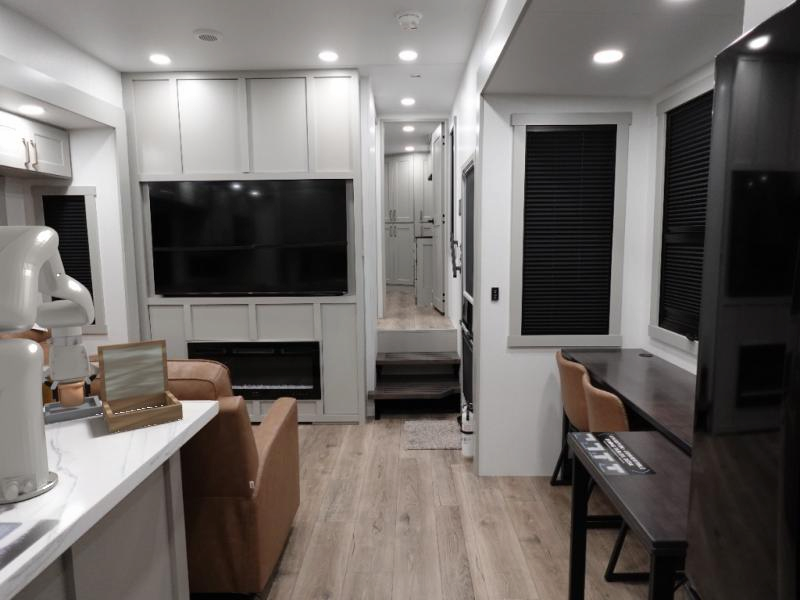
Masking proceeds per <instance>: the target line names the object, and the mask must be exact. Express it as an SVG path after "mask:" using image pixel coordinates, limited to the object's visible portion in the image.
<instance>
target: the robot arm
mask: <svg viewBox="0 0 800 600" xmlns="http://www.w3.org/2000/svg"><path fill="white" fill-rule="evenodd" d="M59 240H60V239H59V234H58V231H56V230H55V229H54V228H52V227H50V226H47V225H0V335H9V334H10V335H11V334H19V333H25V332H29V331H30V330H31V329H32V328H34V326H35V324H36V325H37V326H38V327H39V328H41V329H46V330H50V331H51V337H50V338H47V339H45V340H46V341H45V342H46V344H49V345H52V346H50V348H49V352H48V365H49V368H48V369H47V370H45V371H44V372H43V366H45V365H44V364H45V353H44V350H43V347H42V346H41V344H40V343H39V342H37V341H36V340H32V339H29V338H20V337H18V338H17V337H15V338H14V337H12V338H0V504H1V505H2V504H10V503H17V502H21V501H25V500H28V499H31V498H34V497H37V496H40V495H42V494H44V493H46V492H48V491H50V490H51V489H53V488H54V487H55V486H56V485H58V483H59V475H58V473H56V472H54V471H52V470H51V471H50V470H49V468H50V467H49V459H48V458H49V457H48V448H47V447H48V446H47V436H46V426H45V425H46V423H45V412H44V407H43V402H42V383H44V384H45V385H46V386H48V387H49V388H51V389H52V395H53V399H56V402H59V396H58V388H57V384H58V382H59V381H65V380H70V379H84V380H85V385H84V392H85V397H90V396H89V395H91V394H92V393H91V392H92V389H91V388H92V387H91V384H92V382H93V381H95V379H96V378H97V377H98V376H99V366H97V365H95V364H93V363H92V362H91V361H90V358H89V357H90V356H89V351H88V350H89V349H88V347H87V345H86V343H84V342H83V332H82V331H83V330H82V328H83V327H87V326H90V325H92V324H93V322H94V320H95V315H96V314H95V313H96V311H95V307H94V303H93V299H92V296H91V295H92V294H91V293H90V291H89V289H88V288H87V287H85V285H83V284H82V283H81V282H79V281H78V280H76V279H75V278H73V277H71V276H69V275H67V274H66V272H65V268H64V265H63V262H62V259H61V254H60V251H59V249H58V247H59ZM39 293H40V294H43V295H46V296H51V297H53V298H59V299H61V300H53V301H50V302H42V303H40V304H39V305H38V299H39V298H38V297H39V296H38V294H39ZM91 370H92V371H94V372H93V373H92V374H91ZM49 373H50V378H51V380H53V382H52V383H51V382H50V381H48V380H47V379H45V377H46V376H47V375H48V374H49Z"/></svg>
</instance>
